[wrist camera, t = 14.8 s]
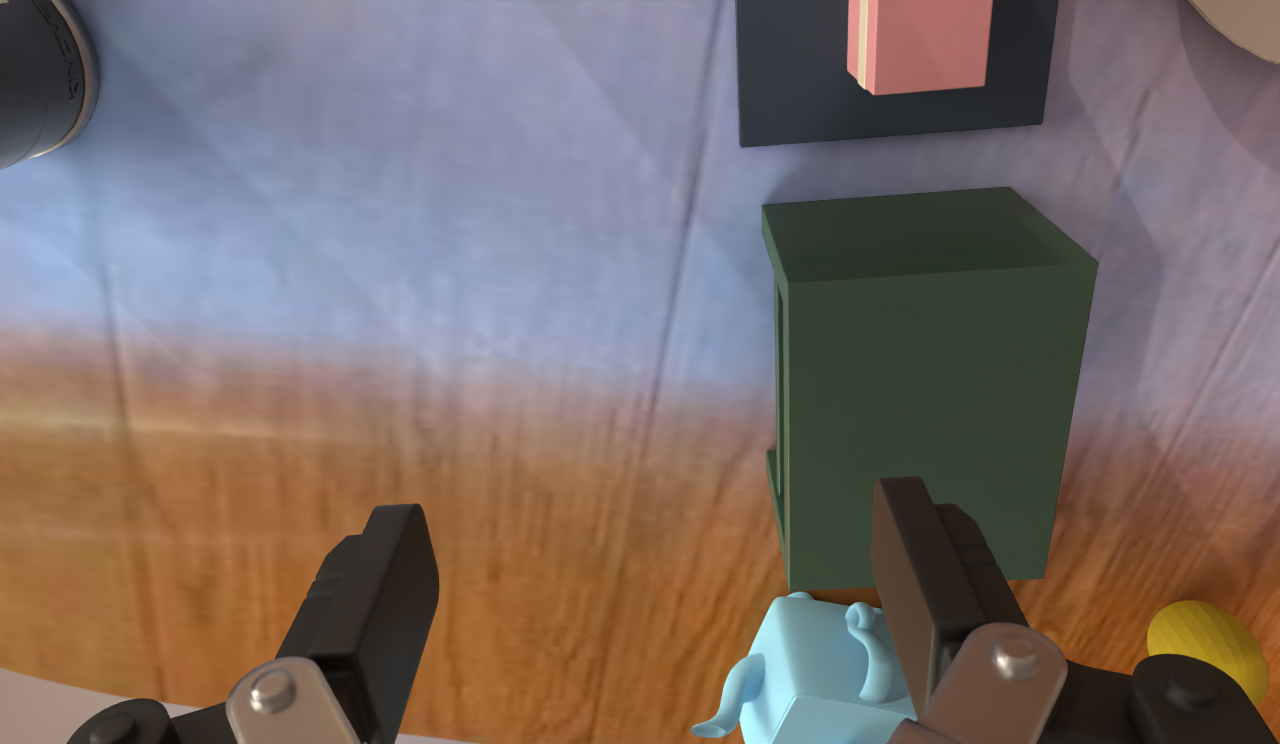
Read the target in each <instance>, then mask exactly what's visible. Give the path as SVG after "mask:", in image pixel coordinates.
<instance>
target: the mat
mask: <svg viewBox="0 0 1280 744" xmlns="http://www.w3.org/2000/svg"><path fill="white" fill-rule="evenodd" d="M735 7H736V41H737V75H738V109H739V143H740V147H741V148H743V147H756V146H769V145H782V144H795V143H808V142H821V141H834V140H847V139H860V138H873V137H886V136H899V135H912V134H925V133H937V132H950V131H963V130H976V129H989V128H1002V127H1015V126H1028V125H1041V124H1042V123H1043V115H1044V107H1045V99H1046V92H1047V84H1048V76H1049V69H1050V61H1051V53H1052V46H1053V38H1054V30H1055V23H1056V15H1057V7H1058V0H993V5H992V16H991V26H990V37H989V47H988V58H987V68H986V79H985V85H984V86H983V87H971V88H958V89H946V90H934V91H922V92H910V93H898V94H885V95H873V94H872V93H871V92H869V91H868V90H867V89H866V90H865V89H863V88H862V87H861V86H860V85H859V84H858V80H857V79H856V78H855V77H854V76H853V75H851V74H850V73H849V72H848V71H847V52H848V11H849V0H735Z"/></svg>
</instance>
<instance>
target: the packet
mask: <svg viewBox="0 0 1280 744" xmlns="http://www.w3.org/2000/svg"><path fill="white" fill-rule="evenodd" d="M992 5H993V0H849V11H848V52H847V71H848V72H849V73H850V74H851V75H853V76H854V77H855V78H856V79H857V80H858V84H859V85H860V86H861V87H862V88H863V89H865V90H866V89H867V90H868V91H869V92H871V93H872V94H873V95H885V94H898V93H910V92H922V91H934V90H946V89H958V88H971V87H983V86H984V85H985V79H986V68H987V58H988V47H989V37H990V26H991V16H992Z"/></svg>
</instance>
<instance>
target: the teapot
mask: <svg viewBox="0 0 1280 744" xmlns="http://www.w3.org/2000/svg"><path fill="white" fill-rule="evenodd" d="M739 718H740V723H741V728H742V733H743V737H744V741H745V744H887V742H888V740H889V739H890V737H891V735H892V734H893V732H894V731H895V729H896V728H897V726H898V725H899V724H900V722H901V721H902V720H903V719H905V718H910V719H912V720H914V721H916V720H917V716H916V713H915V710H914V707H913V703H912V700H911V697H910V694H909V691H908V687H907V684H906V681H905V678H904V675H903V672H902V668H901V665H900V662H899V659H898V656H897V653H896V649H895V646H894V643H893V640H892V637H891V633H890V630H889V627H888V624H887V621H886V618H885V614H884V611H883V610H882V609H879V608H872V607H871V606H870V605H869V604H867V603H865V602H856V603H854V604H852V605H851V606H847V605H842V604H836V603H830V602H824V601H817V600H814V598H813V597H812V596H811V595H810V594H808V593H805V592H795V593H792V594H790V595H788V596H787V597H777V598H775V600H774V601H773V603H772V604H771V606H770V608H769V610H768V612H767V614H766V616H765V618H764V620H763V623H762V625H761V627H760V629H759V631H758V633H757V635H756V638H755V640H754V642H753V645H752V647H751V649H750V652H749V654H748V656H747V657H745V658H743V659H742V660H740V661H739V662H738V663H737V664H736V665H735V666H734V667H733V668H732V670H731V671H730V673H729V675H728V677H727V679H726V682H725V685H724V689H723V693H722V699H721V704H720V708H719V711H718V713H717V714H716V716H714V717H713V718H712V719H711V720H708V721H706V722H703V723H700V724H697V725H695V726H693V727H692V728H691V732H692V733H693V734H694V735H697V736H700V737H707V738H717V737H722V736H725V735H727V734H729V733H730V732H732V731H733V730H734V728H735V727H736V725H737V724H738V721H739Z"/></svg>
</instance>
